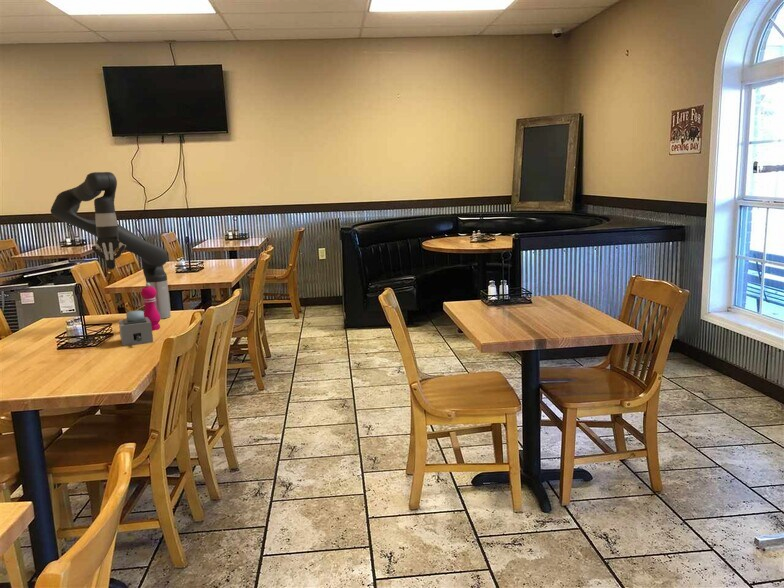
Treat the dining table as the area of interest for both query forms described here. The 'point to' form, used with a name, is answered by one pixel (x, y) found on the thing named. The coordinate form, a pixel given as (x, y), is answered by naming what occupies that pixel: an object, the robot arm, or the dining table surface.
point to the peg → (135, 317)
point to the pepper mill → (151, 306)
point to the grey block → (135, 331)
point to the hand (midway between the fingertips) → (111, 269)
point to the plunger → (137, 337)
